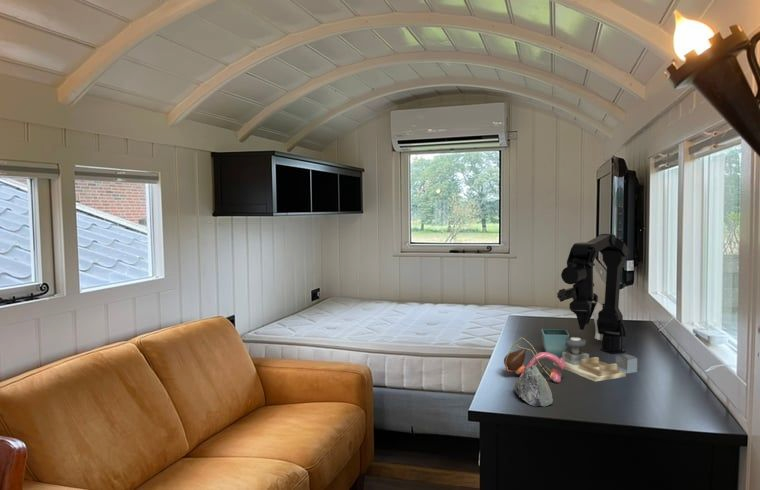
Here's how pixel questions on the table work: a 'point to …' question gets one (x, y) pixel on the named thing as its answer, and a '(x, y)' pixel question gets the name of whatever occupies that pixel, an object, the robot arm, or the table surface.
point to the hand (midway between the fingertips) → (584, 326)
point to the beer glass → (598, 308)
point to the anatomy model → (533, 362)
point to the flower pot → (555, 341)
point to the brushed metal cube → (626, 363)
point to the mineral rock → (533, 388)
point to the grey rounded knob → (575, 344)
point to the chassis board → (590, 367)
